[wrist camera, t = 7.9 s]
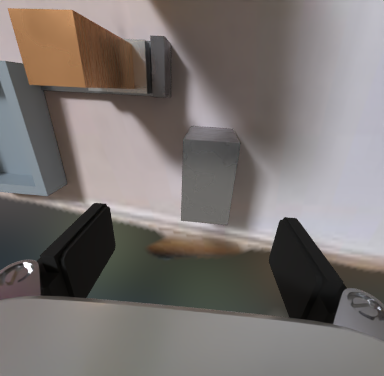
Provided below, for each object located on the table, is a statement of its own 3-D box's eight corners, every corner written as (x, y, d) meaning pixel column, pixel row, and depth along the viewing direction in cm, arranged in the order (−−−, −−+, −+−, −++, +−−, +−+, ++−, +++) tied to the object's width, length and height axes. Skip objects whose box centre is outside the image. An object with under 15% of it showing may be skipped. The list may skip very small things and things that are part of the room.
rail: (171, 44, 17) (164, 36, 14) (171, 96, 18) (164, 97, 16) (35, 39, 17) (7, 31, 15) (48, 90, 19) (25, 89, 17)
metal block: (232, 128, 19) (240, 143, 14) (224, 192, 22) (227, 225, 17) (191, 125, 19) (183, 139, 14) (188, 189, 22) (180, 220, 17)
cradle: (36, 65, 18) (5, 61, 15) (67, 183, 24) (47, 196, 21) (-53, 61, 19) (-99, 56, 16) (-4, 177, 24) (-32, 189, 21)
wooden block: (149, 43, 16) (93, 1, 8) (151, 93, 17) (105, 95, 10) (88, 41, 16) (-16, -1, 9) (96, 90, 18) (13, 90, 10)
